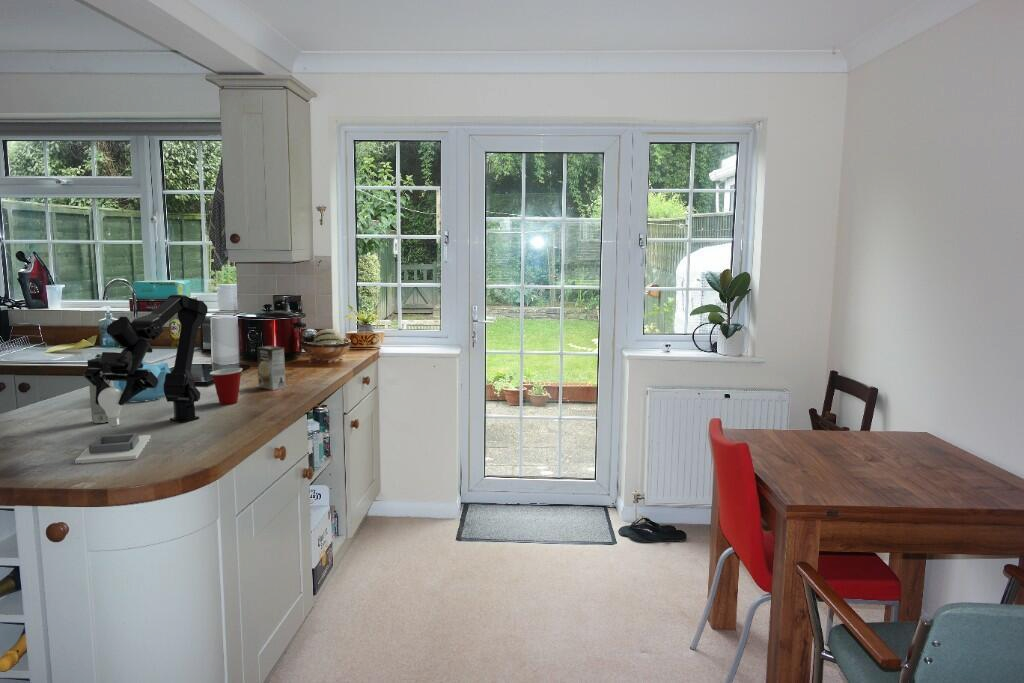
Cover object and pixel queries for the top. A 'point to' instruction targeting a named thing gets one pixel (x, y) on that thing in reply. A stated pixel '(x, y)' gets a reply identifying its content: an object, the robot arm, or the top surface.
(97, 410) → the spray can
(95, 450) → the bulb holder
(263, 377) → the coffee box
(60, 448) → the top surface
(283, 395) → the top surface
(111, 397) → the lightbulb
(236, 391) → the plastic cup
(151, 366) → the teapot
